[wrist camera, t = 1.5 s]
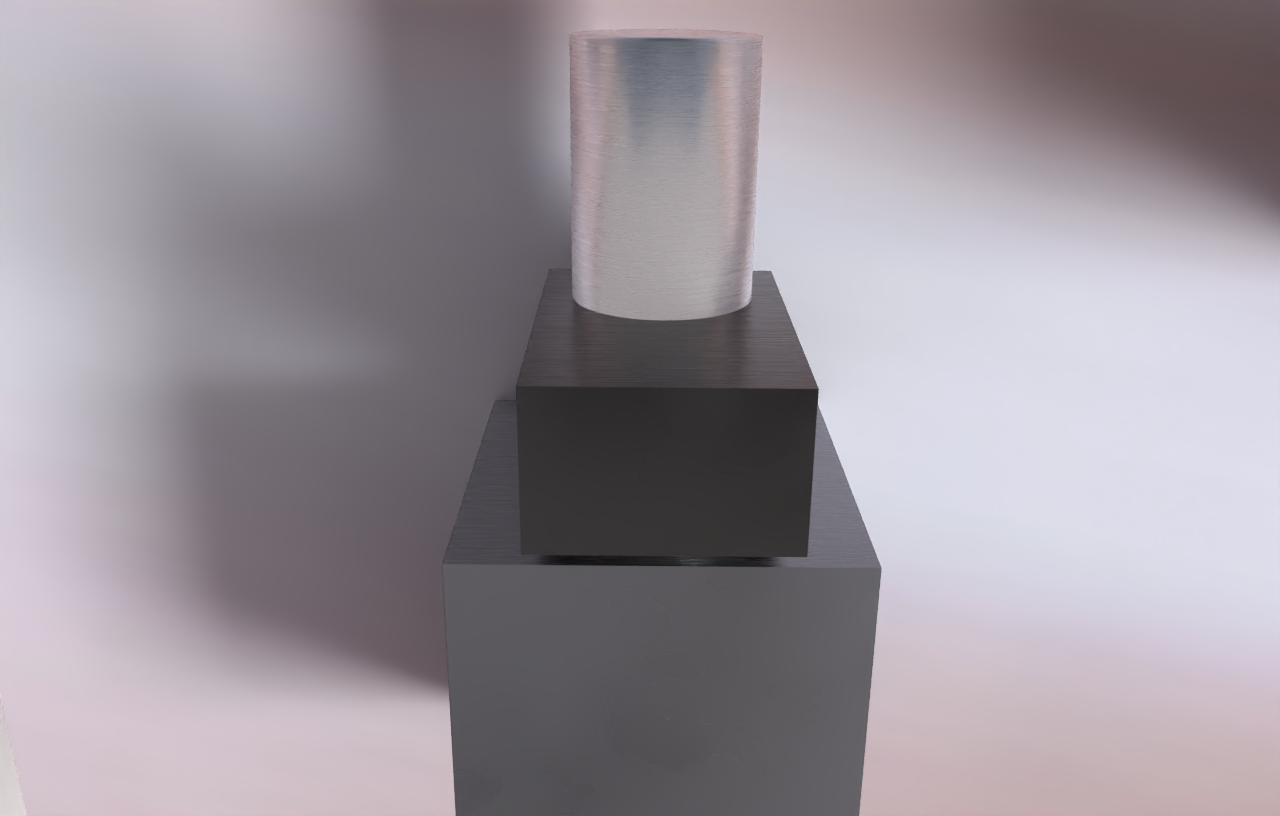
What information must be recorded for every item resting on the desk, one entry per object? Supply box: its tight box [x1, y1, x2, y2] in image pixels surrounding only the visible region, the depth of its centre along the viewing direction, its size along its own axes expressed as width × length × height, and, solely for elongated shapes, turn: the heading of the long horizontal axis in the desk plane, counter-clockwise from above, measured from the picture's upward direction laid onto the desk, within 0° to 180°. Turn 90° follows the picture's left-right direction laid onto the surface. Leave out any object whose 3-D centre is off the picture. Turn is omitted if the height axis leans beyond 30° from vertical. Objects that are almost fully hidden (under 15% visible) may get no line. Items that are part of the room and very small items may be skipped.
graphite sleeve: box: [442, 401, 881, 816], centre depth 28 cm, size 9×8×8 cm
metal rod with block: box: [516, 29, 819, 557], centre depth 24 cm, size 18×5×8 cm, turn 179°
